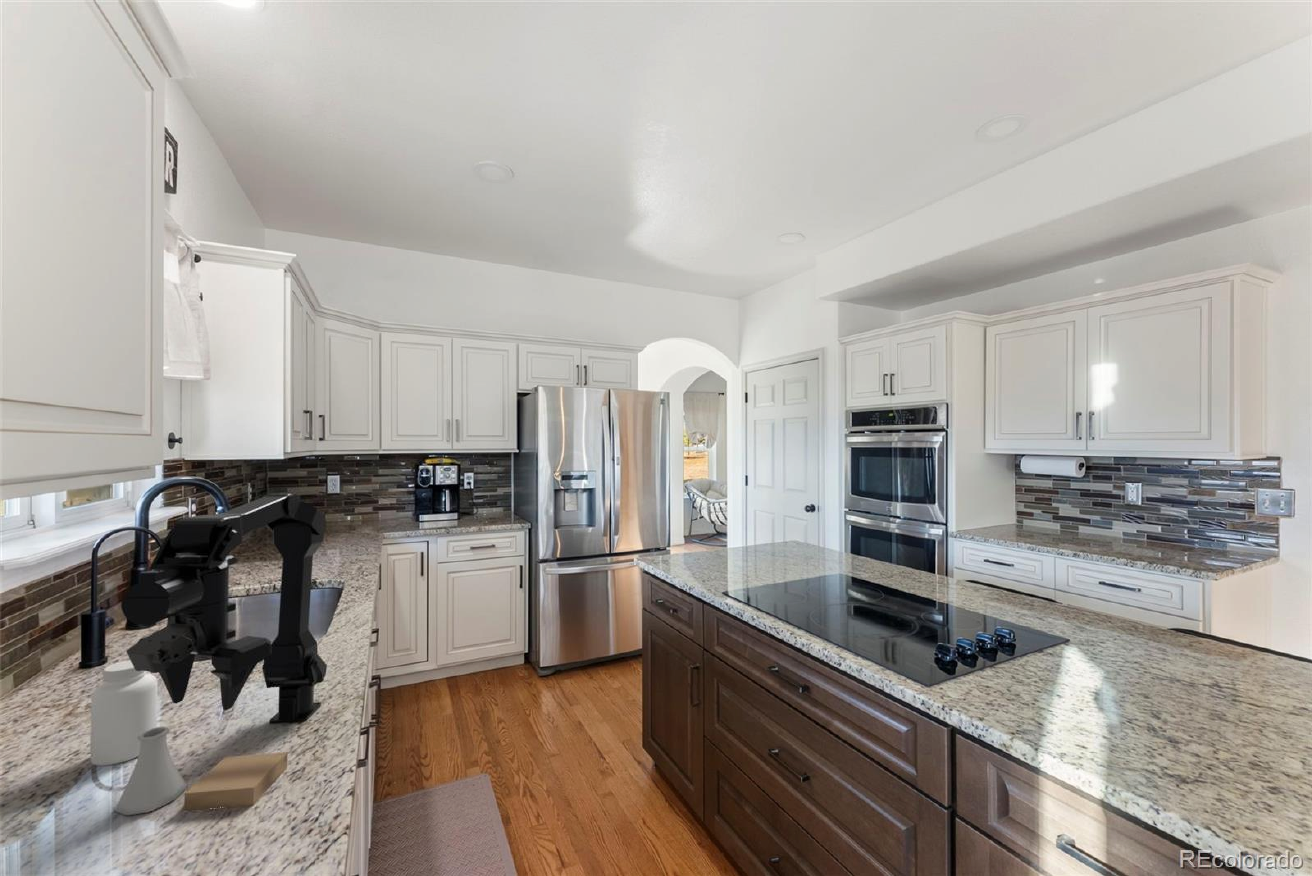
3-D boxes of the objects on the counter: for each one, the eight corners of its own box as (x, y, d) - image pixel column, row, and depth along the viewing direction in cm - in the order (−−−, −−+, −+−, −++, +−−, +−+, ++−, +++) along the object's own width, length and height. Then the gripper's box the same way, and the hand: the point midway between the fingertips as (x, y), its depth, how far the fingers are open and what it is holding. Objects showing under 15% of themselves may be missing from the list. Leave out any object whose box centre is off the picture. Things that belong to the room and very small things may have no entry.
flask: (151, 818, 73) (153, 746, 74) (101, 817, 73) (103, 745, 74) (197, 785, 81) (199, 719, 81) (152, 784, 81) (154, 719, 81)
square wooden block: (225, 775, 83) (225, 757, 84) (286, 771, 85) (287, 752, 85) (183, 814, 75) (184, 793, 75) (253, 808, 76) (253, 787, 76)
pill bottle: (90, 753, 89) (93, 664, 89) (156, 735, 94) (158, 651, 95) (87, 774, 83) (90, 679, 83) (156, 753, 89) (159, 664, 89)
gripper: (87, 614, 72) (86, 727, 72) (196, 625, 68) (195, 744, 68) (176, 591, 83) (175, 689, 83) (274, 599, 79) (273, 702, 79)
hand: (202, 705), depth 78 cm, fingers open, 9 cm apart
